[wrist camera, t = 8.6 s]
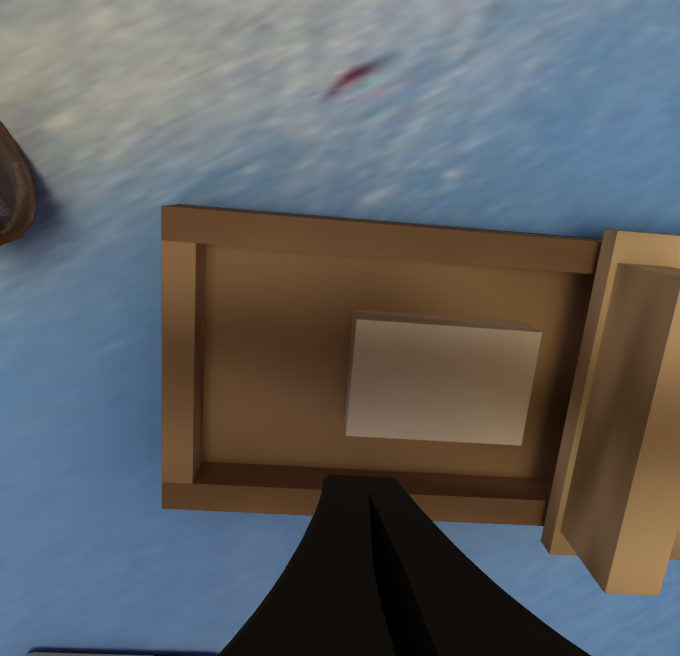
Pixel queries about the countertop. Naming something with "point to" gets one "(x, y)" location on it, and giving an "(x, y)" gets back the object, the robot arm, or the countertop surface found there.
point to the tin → (14, 191)
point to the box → (366, 361)
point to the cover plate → (624, 422)
